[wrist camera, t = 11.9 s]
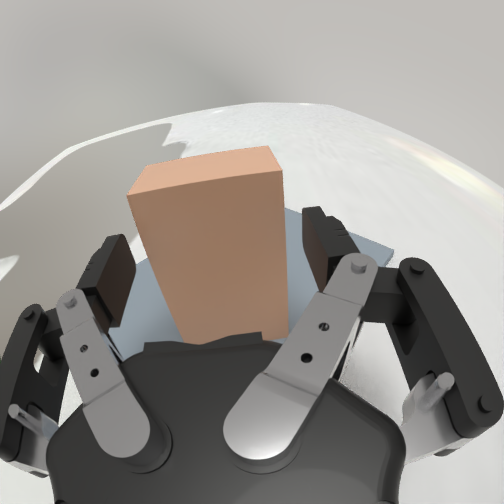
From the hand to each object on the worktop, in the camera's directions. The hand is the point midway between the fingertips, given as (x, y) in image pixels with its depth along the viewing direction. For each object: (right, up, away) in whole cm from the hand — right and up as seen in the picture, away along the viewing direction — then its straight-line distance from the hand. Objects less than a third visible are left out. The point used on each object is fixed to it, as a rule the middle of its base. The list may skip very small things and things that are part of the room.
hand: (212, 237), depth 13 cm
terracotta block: (+1, -5, +5) cm, 7 cm away
